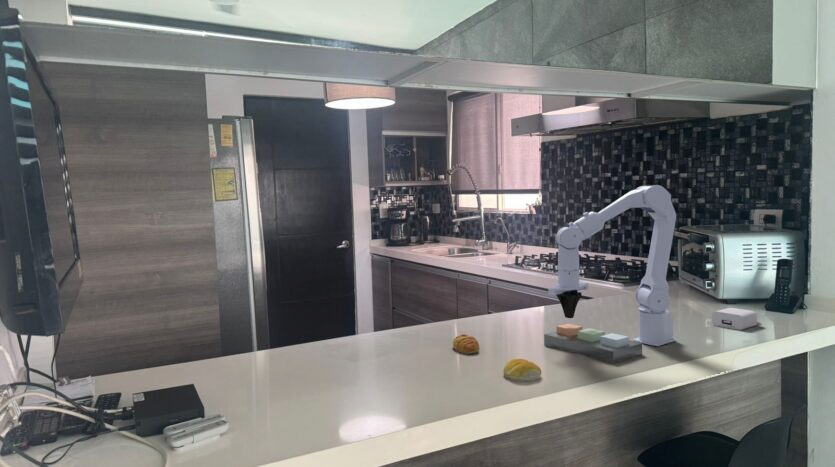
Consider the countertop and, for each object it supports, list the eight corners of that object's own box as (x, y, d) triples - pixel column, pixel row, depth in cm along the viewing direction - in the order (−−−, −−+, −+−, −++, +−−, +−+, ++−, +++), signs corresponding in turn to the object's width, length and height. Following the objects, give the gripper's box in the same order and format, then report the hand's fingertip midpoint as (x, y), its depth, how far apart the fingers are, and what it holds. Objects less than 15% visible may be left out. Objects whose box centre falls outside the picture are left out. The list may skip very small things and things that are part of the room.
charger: (767, 323, 174) (742, 331, 166) (737, 318, 182) (711, 325, 174) (767, 308, 174) (742, 315, 166) (737, 304, 182) (711, 310, 173)
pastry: (485, 353, 151) (485, 340, 151) (462, 356, 149) (462, 343, 149) (472, 345, 160) (471, 332, 160) (450, 348, 158) (449, 335, 158)
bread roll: (525, 369, 137) (525, 353, 137) (546, 379, 129) (546, 362, 128) (496, 373, 134) (496, 357, 134) (516, 385, 126) (515, 367, 125)
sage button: (589, 338, 155) (589, 328, 154) (604, 342, 150) (604, 331, 150) (577, 341, 152) (577, 331, 152) (592, 345, 148) (592, 334, 147)
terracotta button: (568, 333, 161) (568, 323, 161) (582, 337, 157) (582, 326, 156) (556, 336, 158) (556, 326, 158) (570, 340, 154) (570, 329, 154)
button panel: (572, 337, 164) (572, 327, 164) (642, 354, 145) (642, 343, 145) (544, 344, 157) (544, 334, 157) (613, 363, 138) (613, 351, 138)
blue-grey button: (612, 344, 148) (612, 333, 148) (628, 348, 144) (628, 336, 144) (600, 347, 146) (600, 336, 145) (616, 351, 141) (616, 340, 141)
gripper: (574, 266, 163) (575, 311, 164) (539, 271, 155) (540, 318, 156) (594, 268, 158) (594, 315, 158) (559, 273, 149) (559, 323, 150)
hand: (569, 317), depth 157 cm, fingers closed
